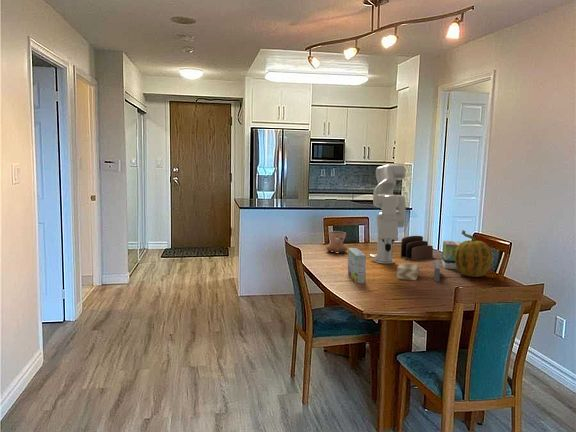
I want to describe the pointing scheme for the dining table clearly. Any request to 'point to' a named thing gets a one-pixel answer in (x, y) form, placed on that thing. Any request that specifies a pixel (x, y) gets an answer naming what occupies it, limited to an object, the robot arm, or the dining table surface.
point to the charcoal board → (436, 271)
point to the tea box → (449, 254)
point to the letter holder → (415, 248)
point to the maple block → (407, 271)
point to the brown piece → (337, 241)
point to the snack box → (357, 265)
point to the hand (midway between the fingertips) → (387, 251)
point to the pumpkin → (473, 257)
